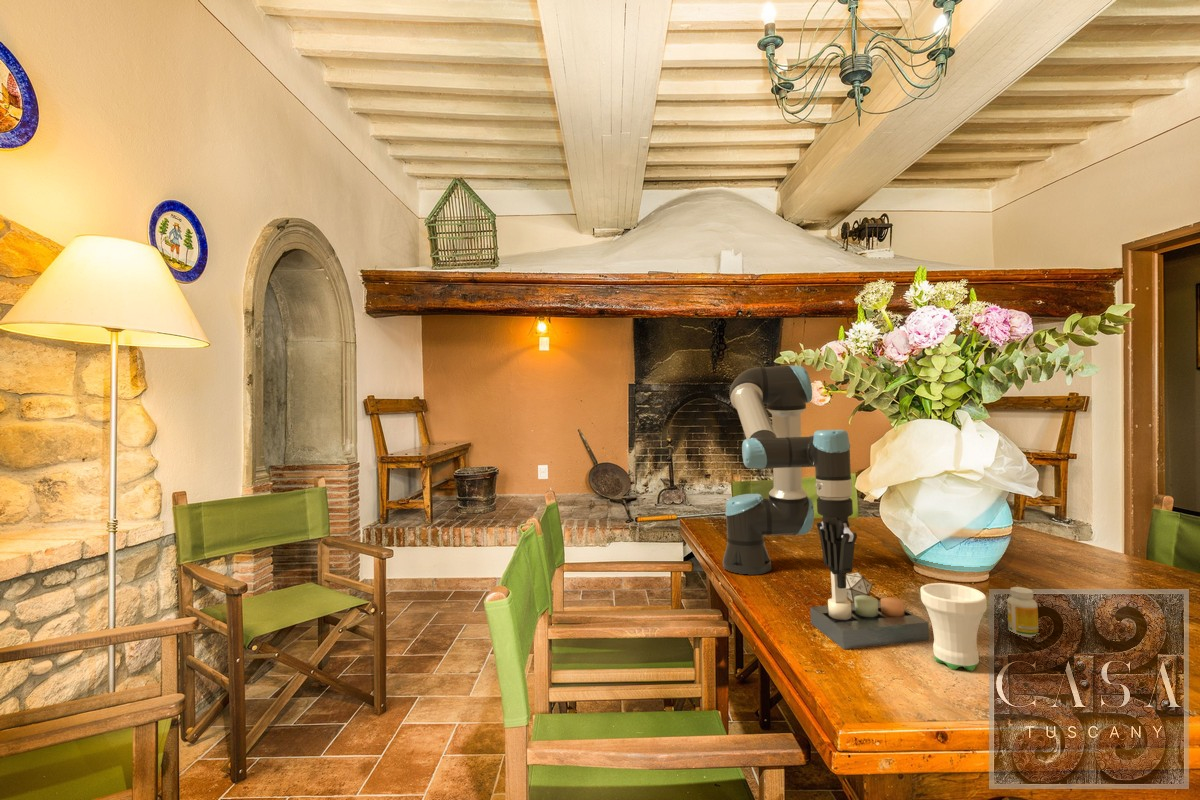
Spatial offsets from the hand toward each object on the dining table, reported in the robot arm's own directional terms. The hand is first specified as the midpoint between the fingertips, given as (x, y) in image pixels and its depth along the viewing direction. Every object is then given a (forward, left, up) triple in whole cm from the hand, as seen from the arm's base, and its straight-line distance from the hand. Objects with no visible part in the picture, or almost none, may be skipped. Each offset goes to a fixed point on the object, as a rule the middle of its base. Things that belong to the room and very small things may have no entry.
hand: (839, 600), depth 124 cm
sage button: (0, +7, -4) cm, 7 cm away
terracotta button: (0, +13, -5) cm, 14 cm away
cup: (+17, +15, -8) cm, 24 cm away
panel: (0, +7, -8) cm, 10 cm away
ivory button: (0, 0, -4) cm, 4 cm away
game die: (-17, +15, -8) cm, 24 cm away
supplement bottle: (+8, +39, -8) cm, 40 cm away
